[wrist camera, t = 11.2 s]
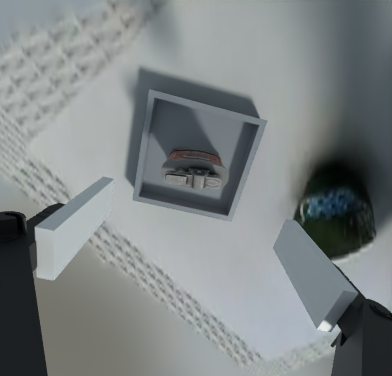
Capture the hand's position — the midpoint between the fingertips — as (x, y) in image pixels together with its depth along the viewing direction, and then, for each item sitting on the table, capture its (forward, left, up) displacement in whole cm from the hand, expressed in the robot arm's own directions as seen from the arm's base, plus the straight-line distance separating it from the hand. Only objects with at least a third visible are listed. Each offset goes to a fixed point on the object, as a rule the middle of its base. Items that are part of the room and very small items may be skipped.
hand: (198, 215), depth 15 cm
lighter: (0, 0, -17) cm, 17 cm away
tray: (0, 0, -18) cm, 18 cm away
